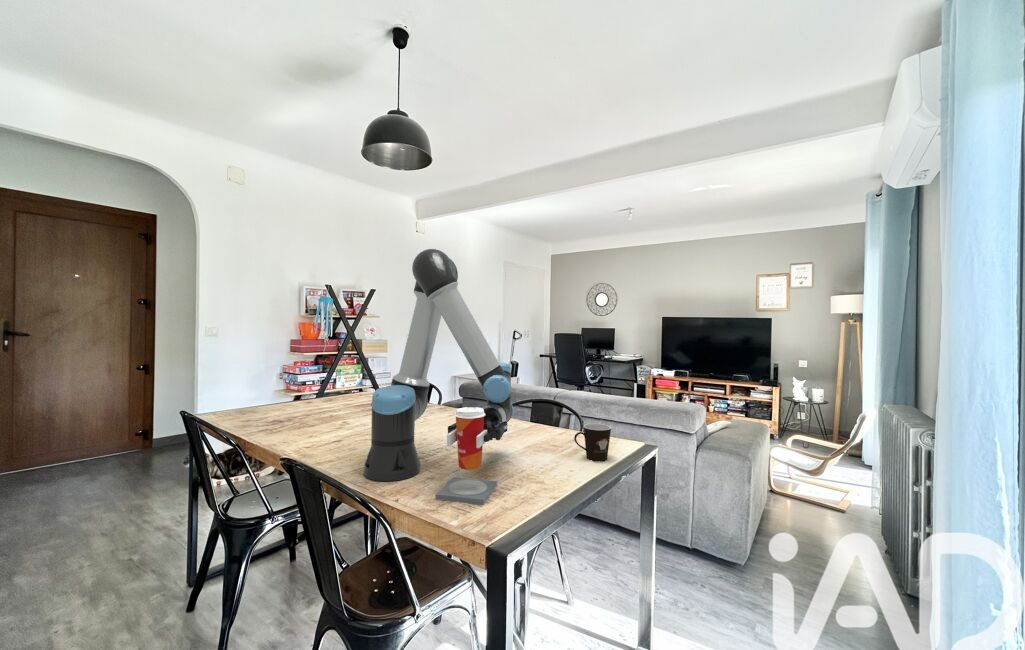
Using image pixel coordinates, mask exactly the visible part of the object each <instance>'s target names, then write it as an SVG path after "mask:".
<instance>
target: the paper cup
mask: <svg viewBox="0 0 1025 650" xmlns="http://www.w3.org/2000/svg"><path fill="white" fill-rule="evenodd" d="M483 409H484V408H482V407H474V406H472V407H471V406H470V407H466V406H465V407H461V408H457V409H456V411H455V413H454V417H455V423H456V429H457V441H456V444H457V461H458V468H460V469H463V470H467V471H468V470H471V471H472V470H476V469H477V470H478V469H479V468H481V467H482V462H483V461H482V459H483V445H484V444H483V445H482V446H481V447H480V448H476V436H478V435H479V434H480V433H481V432H482V431H483V429H484V416H485V413H484V410H483Z"/></svg>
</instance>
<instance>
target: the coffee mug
mask: <svg viewBox="0 0 1025 650" xmlns="http://www.w3.org/2000/svg"><path fill="white" fill-rule="evenodd" d="M611 433H612V427H611V426H610V425H606V424H602V423H587V424H586V423H585V424H584V425H583V432H582V431H579V432H576V434H574V438H573V439H574V440H573V441H574V442H575V444H576V445H577V446H578V447H580V448H581V449H583V450H584V451H585V455H586V456H585V457H586V459H587V460H588V461H590V460H592V461H591V462H595V461H603V462H606V461H607V460H608V455H609V454H608V453H609V447H610V439H611ZM579 435H583V436H584V446H585V447H584V446H582V445H581V444H580V443H579V442H578V440H577V438H578V436H579ZM605 460H606V461H605Z"/></svg>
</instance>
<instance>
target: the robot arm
mask: <svg viewBox="0 0 1025 650" xmlns="http://www.w3.org/2000/svg"><path fill="white" fill-rule="evenodd" d="M411 269H412V270H411V271H412V275H413V277H414V279H415V284H414V288H413V294H414V295H415V297H416V301H415V306H414V308H413V309H414V310H413V315H412V318H411V322H410V326H409V330H408V334H407V338H406V342H405V347H404V352H403V355H402V359H401V364H400V367H399V371H398V373H396V374H395V375H394V376H392V379H391V384H390V385H386V386H382V387H379V388H377V389H375V390H374V392H373V393H372V399H371V406H370V407H371V434H370V435H371V439H370V441H371V444H370V448H369V450H368V454H367V456H366V459H365V462H364V466H363V475H364V477H365V478H366V479H368V480H371V481H377V482H392V481H394V482H395V481H402V480H405V479H410V478H412V477H414V476H416V475H418V474H419V472H420V471H421V460H420V457H419V453H418V450H417V448H416V444H415V428H416V427H415V423H416V421H417V420H418V419H420V417H422V416H423V414H424V413H425V412H426V409H427V406H428V402H429V400H428V394H429V389H430V381H428V379H427V378H428V373H429V369H430V364H431V359H432V356H433V353H434V348H435V344H436V339H437V335H438V333H439V332H438V331H439V327H440V322H441V318H442V319H443V320H444V322H445V324H446V326H447V327H448V329H449V331H450V333H451V334H452V337H453V338H454V340H455V342H456V343H457V346H459V348H460V350H461V352H462V353H463V356H464V357H465V358H466V361H467V363H468V365H469V366H470V368H471V370H472V372H473V373H474V375H475V378H477V381H478V383H479V384H480V386H481V388H482V390H483V394H484V396H485V398H486V407H483V408H482V409H483V410H484V413H485V416H484V429H483V431H482V432H481V433H480V434H479V435H478V436H476V448H480V447H481V446H482V445H485V444H486V442H487V443H488V442H490V441H493V439H495V441H499V440H501V439H502V437H503V435H504V433H506V432H508V423H509V421H510V420H511V419H512V417H513V414H514V406H513V403H512V396H511V392H512V384H511V381H512V379H511V378H512V370H511V369H512V368H511V365H510V364H509V363H508V362H499V361H498V359H497V357H496V355H495V353H494V352H493V350H492V348H491V346H490V344H489V342H488V341H487V339H486V337H485V335H484V334H483V332H482V331H481V328H480V327H479V325H478V323H477V320H476V319H475V318H474V316H473V314H472V312H471V311H470V308H469V307H468V305H467V304H466V302H465V300H464V298H463V296H462V295H461V293H460V291H459V289H458V285H459V282H458V278H459V273H458V268H457V265H456V264H455V262H454V261H453V260H452V259H451V258H450V257H449V256H448V255H447V254H446V253H445V252H443V251H442V250H440V249H436V248H428V249H424V250H422V251H420V252H419V253H418V254H416V256H415V258H414V259H413V262H412V268H411ZM455 443H457V429H456V422H454V423H453V424H450V425H449V426H447V435H446V446H447V447H451V446H452V445H453V444H455Z"/></svg>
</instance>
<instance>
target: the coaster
mask: <svg viewBox="0 0 1025 650" xmlns="http://www.w3.org/2000/svg"><path fill="white" fill-rule="evenodd" d="M497 486H498V480H489V479H482V478H479V479H478V478H471V477H462V476H453V477H451V479H449V480H448V481H447V483H445V485H443V486H442V487H441V488H440V489H439V490H438V491H437V492H436V493H435V494H434V496H435V497H434V499H435V500H438V501H447V502H456V503H463V504H472V505H480V506H481V505H482V506H484V505H485V504H486V502H487V501H488V499H489V498H490V497H491V495H492V493H494V492H495V489H496V488H497Z"/></svg>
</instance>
